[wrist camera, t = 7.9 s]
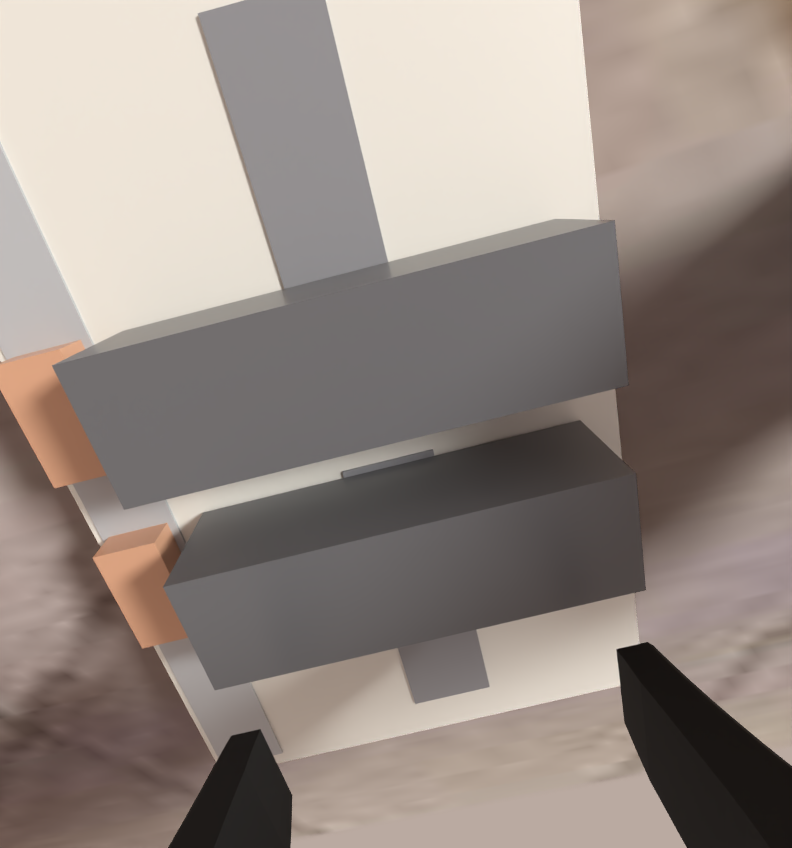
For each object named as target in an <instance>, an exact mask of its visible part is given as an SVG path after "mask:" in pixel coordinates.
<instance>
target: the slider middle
mask: <svg viewBox="0 0 792 848" xmlns="http://www.w3.org/2000/svg"><path fill="white" fill-rule="evenodd" d="M52 367H53V369H54V371H55V373H56V375H57V377H58V379H59V381H60V383H61V385H62V387H63V389H64V391H65V393H66V395H67V397H68V399H69V401H70V403H71V405H72V407H73V409H74V411H75V413H76V415H77V417H78V419H79V421H80V423H81V425H82V427H83V429H84V431H85V433H86V435H87V437H88V439H89V441H90V443H91V445H92V447H93V449H94V451H95V453H96V455H97V457H98V459H99V461H100V463H101V465H102V467H103V469H104V471H105V473H106V475H107V477H108V479H109V481H110V483H111V485H112V487H113V489H114V491H115V493H116V495H117V497H118V499H119V501H120V503H121V505H122V507H123V509H124V510H126V509H130V508H134V507H138V506H142V505H146V504H150V503H154V502H158V501H162V500H166V499H171V498H175V497H179V496H183V495H187V494H191V493H195V492H199V491H203V490H207V489H211V488H215V487H219V486H223V485H227V484H231V483H235V482H239V481H243V480H247V479H252V478H256V477H260V476H264V475H268V474H272V473H276V472H280V471H284V470H288V469H292V468H296V467H300V466H304V465H308V464H312V463H316V462H320V461H324V460H329V459H333V458H337V457H341V456H345V455H349V454H353V453H357V452H361V451H365V450H369V449H373V448H377V447H381V446H385V445H389V444H393V443H397V442H401V441H405V440H410V439H414V438H418V437H422V436H426V435H430V434H434V433H438V432H442V431H446V430H450V429H454V428H458V427H462V426H466V425H470V424H474V423H478V422H482V421H486V420H491V419H495V418H499V417H503V416H507V415H511V414H515V413H519V412H523V411H527V410H531V409H535V408H539V407H543V406H547V405H551V404H555V403H559V402H563V401H568V400H572V399H576V398H580V397H584V396H588V395H592V394H596V393H600V392H604V391H608V390H612V389H616V388H620V387H624V386H628V385H629V384H628V372H627V360H626V348H625V336H624V324H623V312H622V300H621V288H620V276H619V264H618V253H617V241H616V229H615V220H585V219H552V220H549V221H545V222H541V223H537V224H533V225H529V226H525V227H522V228H518V229H514V230H510V231H506V232H502V233H498V234H495V235H491V236H487V237H483V238H479V239H475V240H471V241H468V242H464V243H460V244H456V245H452V246H448V247H444V248H441V249H437V250H433V251H429V252H425V253H421V254H417V255H414V256H410V257H406V258H402V259H398V260H394V261H390V262H387V263H383V264H379V265H375V266H371V267H367V268H363V269H359V270H356V271H352V272H348V273H344V274H340V275H336V276H332V277H329V278H325V279H321V280H317V281H313V282H309V283H305V284H302V285H298V286H294V287H290V288H286V289H282V290H278V291H275V292H271V293H267V294H263V295H259V296H255V297H251V298H248V299H244V300H240V301H236V302H232V303H228V304H224V305H221V306H217V307H213V308H209V309H205V310H201V311H197V312H194V313H190V314H186V315H182V316H178V317H174V318H170V319H167V320H163V321H159V322H155V323H151V324H147V325H143V326H140V327H136V328H132V329H128V330H124V331H122V332H120V333H117V334H115V335H113V336H111V337H109V338H107V339H105V340H103V341H101V342H99V343H97V344H95V345H93V346H91V347H89V348H87V349H85V350H83V351H81V352H79V353H76V354H74V355H72V356H70V357H68V358H66V359H64V360H62V361H60V362H58V363H56V364H54V365H52Z"/></svg>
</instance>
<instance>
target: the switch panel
mask: <svg viewBox="0 0 792 848" xmlns="http://www.w3.org/2000/svg"><path fill="white" fill-rule="evenodd" d="M552 219H585V220H599V209H598V199H597V188H596V177H595V167H594V156H593V145H592V135H591V124H590V113H589V103H588V92H587V82H586V71H585V60H584V50H583V39H582V28H581V18H580V7H579V0H0V361H1V363H0V390H1V392H2V394H3V396H4V398H5V399H6V401H7V403H8V405H9V407H10V408H11V410H12V412H13V414H14V416H15V418H16V419H17V421H18V423H19V425H20V427H21V428H22V430H23V432H24V434H25V436H26V438H27V439H28V441H29V443H30V445H31V447H32V449H33V450H34V452H35V454H36V456H37V458H38V459H39V461H40V463H41V465H42V467H43V469H44V470H45V472H46V474H47V476H48V478H49V480H50V481H51V483H52V485H53V487H54V488H58V487H62V486H66V485H67V486H68V488H69V490H70V492H71V494H72V495H73V497H74V499H75V501H76V503H77V505H78V507H79V508H80V510H81V512H82V514H83V516H84V518H85V520H86V521H87V523H88V525H89V527H90V529H91V531H92V533H93V534H94V536H95V538H96V540H97V542H98V544H99V546H100V547H101V548H100V549H99V550H98V551H97V553H96V554H95V555H94V557H93V560H94V562H95V563H96V565H97V567H98V569H99V571H100V572H101V574H102V576H103V578H104V580H105V582H106V583H107V585H108V587H109V589H110V591H111V592H112V594H113V596H114V598H115V600H116V602H117V603H118V605H119V607H120V609H121V611H122V613H123V614H124V616H125V618H126V620H127V622H128V623H129V625H130V627H131V629H132V631H133V633H134V634H135V636H136V638H137V640H138V642H139V644H140V645H141V647H142V649H143V648H147V647H151V646H154V648H155V650H156V652H157V654H158V655H159V657H160V659H161V661H162V663H163V665H164V667H165V668H166V670H167V672H168V674H169V676H170V678H171V680H172V681H173V683H174V685H175V687H176V689H177V691H178V693H179V695H180V696H181V698H182V700H183V702H184V704H185V706H186V708H187V709H188V711H189V713H190V715H191V717H192V719H193V721H194V722H195V724H196V726H197V728H198V730H199V732H200V734H201V735H202V737H203V739H204V741H205V743H206V745H207V747H208V748H209V750H210V752H211V754H212V756H213V758H214V760H215V762H217V760H218V758H219V756H220V754H221V752H222V751H223V749H224V747H225V745H226V743H227V742H228V740H229V738H230V737H231V736H232V735H236V734H241V733H245V732H250V731H254V730H258V729H261V731H262V733H263V735H264V737H265V740H266V742H267V744H268V746H269V748H270V750H271V752H272V754H273V756H274V758H275V760H276V763H277V764H278V763H282V762H287V761H291V760H296V759H300V758H304V757H309V756H313V755H318V754H322V753H326V752H331V751H335V750H340V749H344V748H348V747H353V746H357V745H362V744H366V743H371V742H375V741H379V740H384V739H388V738H393V737H397V736H401V735H406V734H410V733H415V732H419V731H423V730H428V729H432V728H437V727H441V726H445V725H450V724H454V723H459V722H463V721H467V720H472V719H476V718H481V717H485V716H489V715H494V714H498V713H503V712H507V711H511V710H516V709H520V708H525V707H529V706H533V705H538V704H542V703H547V702H551V701H556V700H560V699H564V698H569V697H573V696H578V695H582V694H586V693H591V692H595V691H600V690H604V689H608V688H613V687H617V686H620V678H619V669H618V660H617V651H616V649H619V648H624V647H628V646H632V645H637V644H639V635H638V624H637V614H636V603H635V593H631V594H627V595H623V596H618V597H614V598H610V599H606V600H601V601H597V602H593V603H588V604H584V605H580V606H575V607H571V608H567V609H563V610H558V611H554V612H550V613H545V614H541V615H537V616H533V617H528V618H524V619H520V620H515V621H511V622H507V623H503V624H498V625H494V626H490V627H485V628H481V629H477V630H472V631H468V632H464V633H460V634H455V635H451V636H447V637H442V638H438V639H434V640H430V641H425V642H421V643H417V644H412V645H408V646H404V647H400V648H395V649H391V650H387V651H382V652H378V653H374V654H369V655H365V656H361V657H357V658H352V659H348V660H344V661H339V662H335V663H331V664H327V665H322V666H318V667H314V668H309V669H305V670H301V671H297V672H292V673H288V674H284V675H279V676H275V677H271V678H266V679H262V680H258V681H254V682H249V683H245V684H241V685H236V686H232V687H228V688H224V689H219V690H214V688H213V686H212V684H211V682H210V680H209V678H208V676H207V674H206V672H205V670H204V668H203V666H202V664H201V662H200V660H199V658H198V656H197V654H196V652H195V650H194V648H193V646H192V644H191V642H190V640H189V638H188V636H187V634H186V632H185V630H184V628H183V626H182V624H181V622H180V620H179V618H178V616H177V614H176V612H175V610H174V608H173V606H172V604H171V602H170V600H169V598H168V596H167V594H166V592H165V590H164V588H163V586H164V584H165V582H166V580H167V579H168V577H169V575H170V573H171V571H172V569H173V567H174V566H175V564H176V562H177V560H178V558H179V556H180V554H181V552H182V551H183V549H184V547H185V545H186V543H187V541H188V539H189V538H190V536H191V534H192V532H193V530H194V528H195V526H196V524H197V523H198V521H199V519H200V517H201V515H202V513H204V512H208V511H212V510H216V509H220V508H224V507H228V506H232V505H236V504H240V503H244V502H248V501H252V500H256V499H261V498H265V497H269V496H273V495H277V494H281V493H285V492H289V491H293V490H297V489H301V488H305V487H309V486H314V485H318V484H322V483H326V482H330V481H334V480H338V479H342V478H346V477H350V476H354V475H358V474H362V473H367V472H371V471H375V470H379V469H383V468H387V467H391V466H395V465H399V464H403V463H407V462H411V461H415V460H420V459H424V458H428V457H432V456H436V455H440V454H444V453H448V452H452V451H456V450H460V449H464V448H468V447H473V446H477V445H481V444H485V443H489V442H493V441H497V440H501V439H505V438H509V437H513V436H517V435H521V434H526V433H530V432H534V431H538V430H542V429H546V428H550V427H554V426H558V425H562V424H566V423H570V422H574V421H578V420H581V421H582V422H583V423H584V424H585V425H586V426H587V427H588V428H589V429H590V430H591V431H592V432H593V433H594V434H595V435H596V436H597V437H599V438H600V439H601V440H602V441H603V442H604V443H605V444H606V445H607V446H608V447H609V448H610V449H611V450H612V451H613V452H614V453H615V454H616V455H617V456H618V457H620V458H621V459H622V454H621V443H620V433H619V422H618V411H617V401H616V390H615V389H612V390H608V391H604V392H600V393H596V394H592V395H588V396H584V397H580V398H576V399H572V400H568V401H563V402H559V403H555V404H551V405H547V406H543V407H539V408H535V409H531V410H527V411H523V412H519V413H515V414H511V415H507V416H503V417H499V418H495V419H491V420H486V421H482V422H478V423H474V424H470V425H466V426H462V427H458V428H454V429H450V430H446V431H442V432H438V433H434V434H430V435H426V436H422V437H418V438H414V439H410V440H405V441H401V442H397V443H393V444H389V445H385V446H381V447H377V448H373V449H369V450H365V451H361V452H357V453H353V454H349V455H345V456H341V457H337V458H333V459H329V460H324V461H320V462H316V463H312V464H308V465H304V466H300V467H296V468H292V469H288V470H284V471H280V472H276V473H272V474H268V475H264V476H260V477H256V478H252V479H247V480H243V481H239V482H235V483H231V484H227V485H223V486H219V487H215V488H211V489H207V490H203V491H199V492H195V493H191V494H187V495H183V496H179V497H175V498H171V499H166V500H162V501H158V502H154V503H150V504H146V505H142V506H138V507H134V508H130V509H126V510H124V509H123V507H122V505H121V503H120V501H119V499H118V497H117V495H116V493H115V491H114V489H113V487H112V485H111V483H110V481H109V479H108V477H107V475H106V473H105V471H104V469H103V467H102V465H101V463H100V461H99V459H98V457H97V455H96V453H95V451H94V449H93V447H92V445H91V443H90V441H89V439H88V437H87V435H86V433H85V431H84V429H83V427H82V425H81V423H80V421H79V419H78V417H77V415H76V413H75V411H74V409H73V407H72V405H71V403H70V401H69V399H68V397H67V395H66V393H65V391H64V389H63V387H62V385H61V383H60V381H59V379H58V377H57V375H56V373H55V371H54V369H53V367H52V365H54V364H56V363H58V362H60V361H62V360H64V359H66V358H68V357H70V356H72V355H74V354H76V353H79V352H81V351H83V350H85V349H87V348H89V347H91V346H93V345H95V344H97V343H99V342H101V341H103V340H105V339H107V338H109V337H111V336H113V335H115V334H117V333H120V332H122V331H124V330H128V329H132V328H136V327H140V326H143V325H147V324H151V323H155V322H159V321H163V320H167V319H170V318H174V317H178V316H182V315H186V314H190V313H194V312H197V311H201V310H205V309H209V308H213V307H217V306H221V305H224V304H228V303H232V302H236V301H240V300H244V299H248V298H251V297H255V296H259V295H263V294H267V293H271V292H275V291H278V290H282V289H286V288H290V287H294V286H298V285H302V284H305V283H309V282H313V281H317V280H321V279H325V278H329V277H332V276H336V275H340V274H344V273H348V272H352V271H356V270H359V269H363V268H367V267H371V266H375V265H379V264H383V263H387V262H390V261H394V260H398V259H402V258H406V257H410V256H414V255H417V254H421V253H425V252H429V251H433V250H437V249H441V248H444V247H448V246H452V245H456V244H460V243H464V242H468V241H471V240H475V239H479V238H483V237H487V236H491V235H495V234H498V233H502V232H506V231H510V230H514V229H518V228H522V227H525V226H529V225H533V224H537V223H541V222H545V221H549V220H552Z"/></svg>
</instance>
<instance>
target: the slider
mask: <svg viewBox="0 0 792 848" xmlns="http://www.w3.org/2000/svg"><path fill="white" fill-rule="evenodd" d="M163 588H164V590H165V592H166V594H167V596H168V598H169V600H170V602H171V604H172V606H173V608H174V610H175V612H176V614H177V616H178V618H179V620H180V622H181V624H182V626H183V628H184V630H185V632H186V634H187V636H188V638H189V640H190V642H191V644H192V646H193V648H194V650H195V652H196V654H197V656H198V658H199V660H200V662H201V664H202V666H203V668H204V670H205V672H206V674H207V676H208V678H209V680H210V682H211V684H212V686H213V688H214V690H219V689H224V688H228V687H232V686H236V685H241V684H245V683H249V682H254V681H258V680H262V679H266V678H271V677H275V676H279V675H284V674H288V673H292V672H297V671H301V670H305V669H309V668H314V667H318V666H322V665H327V664H331V663H335V662H339V661H344V660H348V659H352V658H357V657H361V656H365V655H369V654H374V653H378V652H382V651H387V650H391V649H395V648H400V647H404V646H408V645H412V644H417V643H421V642H425V641H430V640H434V639H438V638H442V637H447V636H451V635H455V634H460V633H464V632H468V631H472V630H477V629H481V628H485V627H490V626H494V625H498V624H503V623H507V622H511V621H515V620H520V619H524V618H528V617H533V616H537V615H541V614H545V613H550V612H554V611H558V610H563V609H567V608H571V607H575V606H580V605H584V604H588V603H593V602H597V601H601V600H606V599H610V598H614V597H618V596H623V595H627V594H631V593H636V592H640V591H644V590H646V586H645V574H644V562H643V550H642V538H641V526H640V515H639V503H638V491H637V479H636V473H635V472H634V471H633V470H632V469H631V468H630V467H629V466H628V465H627V464H626V463H625V462H624V461H623V460H622V459H621V458H620V457H618V456H617V455H616V454H615V453H614V452H613V451H612V450H611V449H610V448H609V447H608V446H607V445H606V444H605V443H604V442H603V441H602V440H601V439H600V438H599V437H597V436H596V435H595V434H594V433H593V432H592V431H591V430H590V429H589V428H588V427H587V426H586V425H585V424H584V423H583V422H582V421H581V420H578V421H574V422H570V423H566V424H562V425H558V426H554V427H550V428H546V429H542V430H538V431H534V432H530V433H526V434H521V435H517V436H513V437H509V438H505V439H501V440H497V441H493V442H489V443H485V444H481V445H477V446H473V447H468V448H464V449H460V450H456V451H452V452H448V453H444V454H440V455H436V456H432V457H428V458H424V459H420V460H415V461H411V462H407V463H403V464H399V465H395V466H391V467H387V468H383V469H379V470H375V471H371V472H367V473H362V474H358V475H354V476H350V477H346V478H342V479H338V480H334V481H330V482H326V483H322V484H318V485H314V486H309V487H305V488H301V489H297V490H293V491H289V492H285V493H281V494H277V495H273V496H269V497H265V498H261V499H256V500H252V501H248V502H244V503H240V504H236V505H232V506H228V507H224V508H220V509H216V510H212V511H208V512H204V513H202V515H201V517H200V519H199V521H198V523H197V524H196V526H195V528H194V530H193V532H192V534H191V536H190V538H189V539H188V541H187V543H186V545H185V547H184V549H183V551H182V552H181V554H180V556H179V558H178V560H177V562H176V564H175V566H174V567H173V569H172V571H171V573H170V575H169V577H168V579H167V580H166V582H165V584H164V586H163Z"/></svg>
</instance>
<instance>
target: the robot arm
mask: <svg viewBox="0 0 792 848" xmlns="http://www.w3.org/2000/svg"><path fill="white" fill-rule="evenodd" d="M616 651H617V660H618V669H619V678H620V686H621V695H622V704H623V712H624V721H625V725H626V727H627V729H628V732H629V734H630V736H631V739H632V741H633V743H634V746H635V748H636V750H637V752H638V755H639V757H640V759H641V762H642V764H643V766H644V768H645V770H646V773H647V775H648V777H649V779H650V781H651V783H652V785H653V787H654V789H655V790H656V792H657V794H658V796H659V798H660V800H661V802H662V803H663V805H664V807H665V809H666V811H667V813H668V814H669V816H670V818H671V820H672V821H673V823H674V825H675V827H676V829H677V831H678V832H679V834H680V836H681V838H682V840H683V841H684V843H685V845H686V847H687V848H792V766H791V765H790V764H788V763H787V762H786V761H785V760H783V759H782V758H781V757H779V756H778V755H777V754H776V753H775V752H773V751H772V750H771V749H770V748H768V747H767V746H766V745H765V744H763V743H762V742H761V741H760V740H759V739H757V738H756V737H755V736H754V735H753V734H751V733H750V732H749V731H748V730H747V729H745V728H744V727H743V726H742V725H741V724H739V723H738V722H737V721H736V720H735V719H733V718H732V717H731V716H730V715H729V714H727V713H726V712H725V711H724V710H723V709H722V708H720V707H719V706H718V705H717V704H716V703H715V702H714V701H712V700H711V699H710V698H709V697H708V696H707V695H706V694H705V693H703V692H702V691H701V690H700V689H699V688H698V687H697V686H696V685H695V684H693V683H692V682H691V681H690V680H689V679H688V678H687V677H686V676H685V675H684V674H682V673H681V672H680V671H679V670H678V669H677V668H676V667H675V666H674V665H673V664H672V663H671V662H670V661H669V660H668V659H667V658H666V657H664V656H663V655H662V654H661V653H660V652H659V651H658V650H657V649H656V648H655V647H654V646H653V645H651V644H650V643H648V642H646V643H641V644H637V645H632V646H628V647H624V648H619V649H616ZM291 820H292V794H291V792H290V790H289V788H288V786H287V784H286V781H285V779H284V777H283V775H282V773H281V771H280V769H279V767H278V765H277V763H276V760H275V758H274V756H273V754H272V752H271V750H270V748H269V746H268V744H267V742H266V740H265V737H264V735H263V733H262V731H261V729H258V730H254V731H250V732H245V733H241V734H236V735H232V736H231V737H230V738H229V740H228V742H227V743H226V745H225V747H224V749H223V751H222V752H221V754H220V756H219V758H218V760H217V762H216V763H215V765H214V767H213V769H212V771H211V773H210V774H209V776H208V778H207V780H206V782H205V783H204V785H203V787H202V789H201V791H200V793H199V794H198V796H197V798H196V800H195V802H194V803H193V805H192V807H191V809H190V811H189V812H188V814H187V816H186V818H185V819H184V821H183V823H182V825H181V826H180V828H179V830H178V832H177V833H176V835H175V837H174V839H173V840H172V842H171V844H170V845H169V847H168V848H290V844H291Z"/></svg>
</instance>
